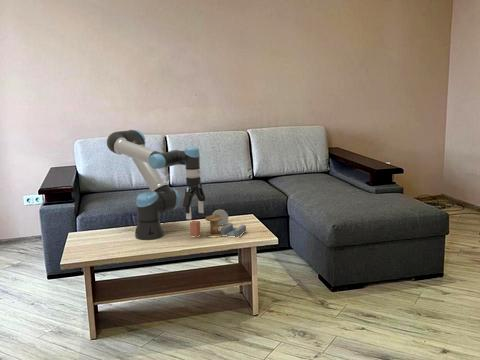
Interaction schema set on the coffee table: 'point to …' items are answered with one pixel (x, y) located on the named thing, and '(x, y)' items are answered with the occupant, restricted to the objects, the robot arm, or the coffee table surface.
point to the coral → (224, 216)
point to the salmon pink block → (195, 228)
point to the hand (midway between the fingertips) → (195, 215)
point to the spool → (214, 225)
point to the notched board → (233, 230)
